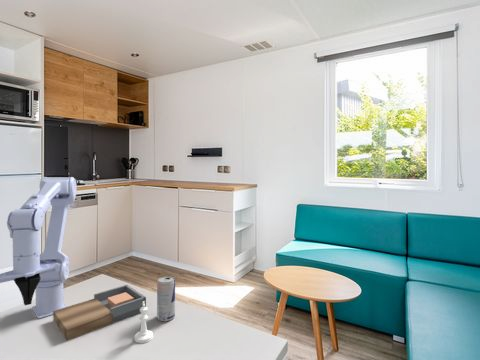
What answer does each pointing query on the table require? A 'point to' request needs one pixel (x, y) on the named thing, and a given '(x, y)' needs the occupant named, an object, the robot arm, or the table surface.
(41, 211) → the robot arm
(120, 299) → the terracotta tile
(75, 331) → the walnut plate
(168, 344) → the table surface
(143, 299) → the tray
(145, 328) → the chess piece
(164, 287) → the energy drink
